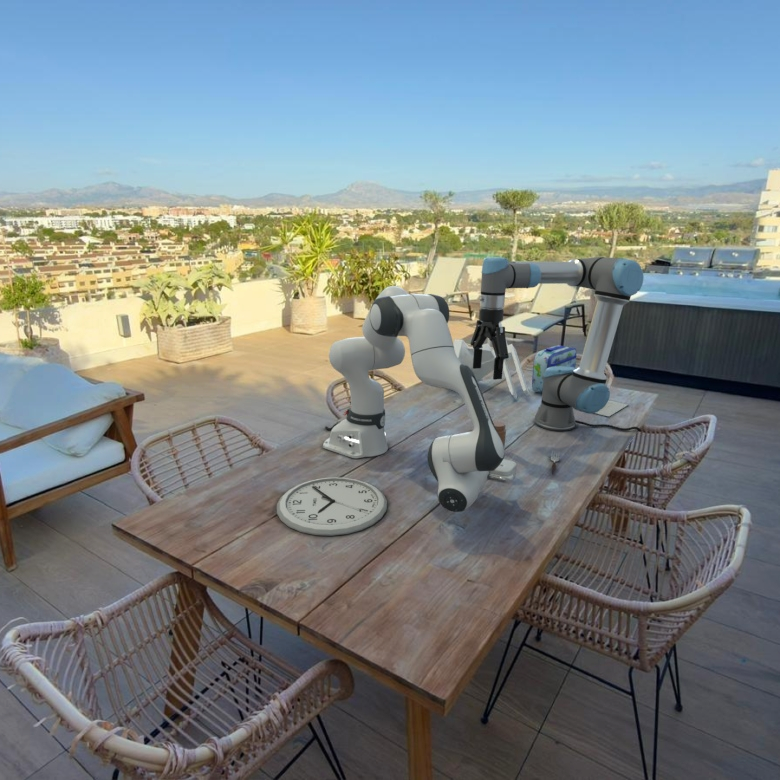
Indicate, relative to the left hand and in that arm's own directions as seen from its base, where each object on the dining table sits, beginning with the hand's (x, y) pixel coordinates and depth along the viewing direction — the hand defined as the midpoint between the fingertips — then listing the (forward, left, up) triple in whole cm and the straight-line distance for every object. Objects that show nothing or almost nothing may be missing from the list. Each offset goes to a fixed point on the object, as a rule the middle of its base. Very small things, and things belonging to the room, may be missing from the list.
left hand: (484, 453), depth 149 cm
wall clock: (-34, -27, -12) cm, 45 cm away
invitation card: (+26, +97, -12) cm, 101 cm away
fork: (+17, +27, -12) cm, 33 cm away
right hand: (-8, +27, +16) cm, 32 cm away
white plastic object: (-26, +93, -12) cm, 97 cm away
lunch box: (+4, +112, -12) cm, 112 cm away
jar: (0, +12, -12) cm, 16 cm away
